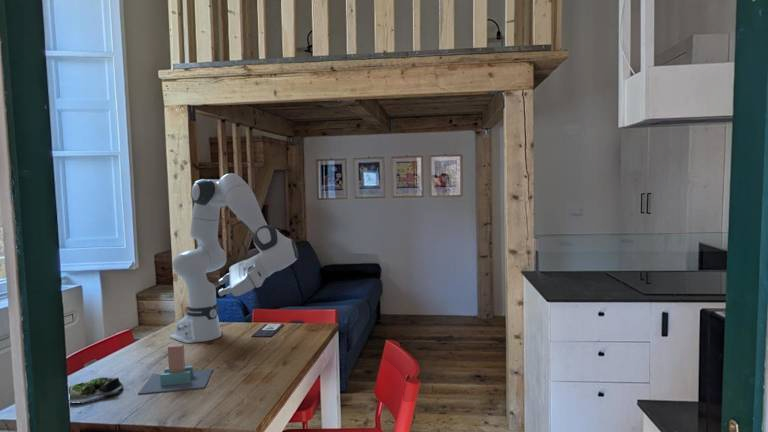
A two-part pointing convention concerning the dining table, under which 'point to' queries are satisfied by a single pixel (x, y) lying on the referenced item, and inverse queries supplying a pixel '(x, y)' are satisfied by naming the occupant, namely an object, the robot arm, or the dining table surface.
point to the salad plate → (95, 389)
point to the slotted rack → (177, 376)
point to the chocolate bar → (268, 330)
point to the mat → (196, 383)
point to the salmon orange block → (176, 358)
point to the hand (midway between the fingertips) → (219, 288)
